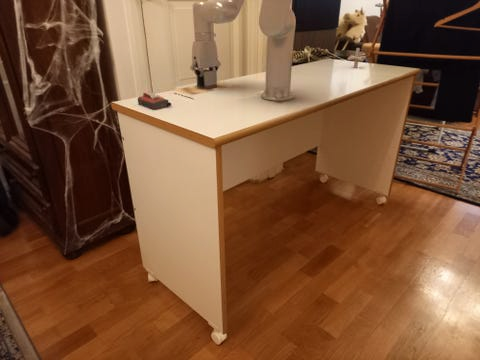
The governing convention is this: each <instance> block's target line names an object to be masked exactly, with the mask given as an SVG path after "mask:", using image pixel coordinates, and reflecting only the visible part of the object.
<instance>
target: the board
mask: <svg viewBox="0 0 480 360" xmlns="http://www.w3.org/2000/svg"><path fill="white" fill-rule="evenodd" d="M231 87H234V85H232V84H229V83H228V84H227V83H224V82H218V81H217V88H213V89H208V90H207V89H204V88H200V87H197V84H196V85H192V86H187V87H182V88H176V89H174V92H173V95H177V94H178V96H180V95H181V97H184V98H186V99H190V100H194V99H195V98H193V97H190V96H193V95H198V94H203V93H208V92H212V91H217V90H222V89H227V88H231ZM177 92H180V93H183V94H187V95H190V96H187V95H183V94H180V93H177Z"/></svg>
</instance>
